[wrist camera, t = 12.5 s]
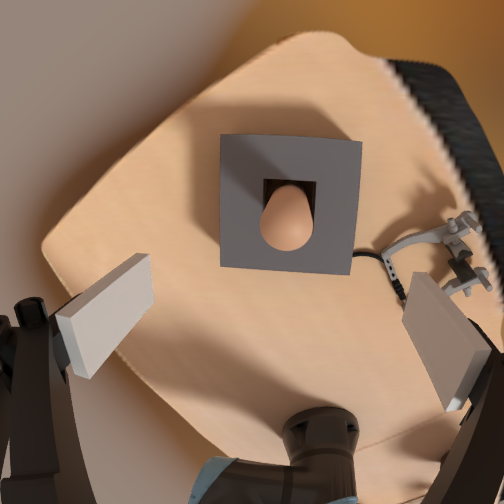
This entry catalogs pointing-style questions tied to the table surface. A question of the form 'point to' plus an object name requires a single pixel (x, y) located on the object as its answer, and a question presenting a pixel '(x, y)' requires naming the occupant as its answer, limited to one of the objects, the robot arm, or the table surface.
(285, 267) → the socket block
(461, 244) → the bike brake
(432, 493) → the robot arm
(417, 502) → the white piece
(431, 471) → the table surface
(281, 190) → the peg
